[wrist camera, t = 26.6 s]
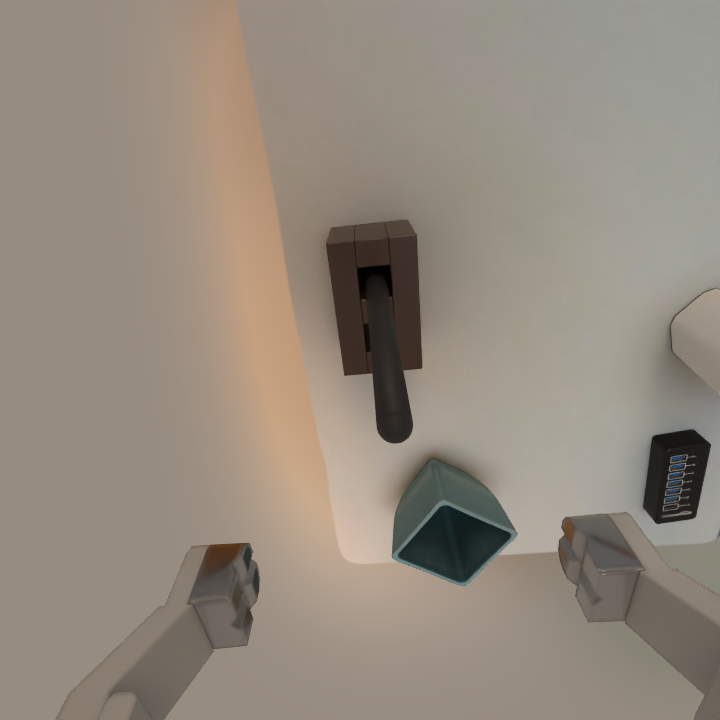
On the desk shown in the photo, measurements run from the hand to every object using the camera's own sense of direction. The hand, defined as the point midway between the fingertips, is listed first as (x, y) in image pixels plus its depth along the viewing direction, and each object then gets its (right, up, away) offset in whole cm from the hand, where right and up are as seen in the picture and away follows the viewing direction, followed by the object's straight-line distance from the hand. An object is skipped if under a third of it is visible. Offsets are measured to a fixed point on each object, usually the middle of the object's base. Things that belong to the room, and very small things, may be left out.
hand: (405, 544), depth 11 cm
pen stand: (0, +11, +27) cm, 29 cm away
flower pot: (+8, -9, +37) cm, 39 cm away
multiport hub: (+33, -8, +37) cm, 50 cm away
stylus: (0, +13, +26) cm, 29 cm away
